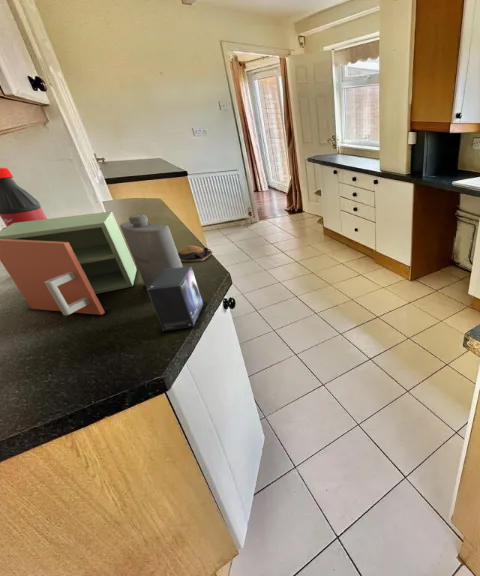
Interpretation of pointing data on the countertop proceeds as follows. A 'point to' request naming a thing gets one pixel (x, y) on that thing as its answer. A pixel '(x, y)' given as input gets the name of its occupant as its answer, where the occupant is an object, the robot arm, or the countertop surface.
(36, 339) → the countertop surface
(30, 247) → the door
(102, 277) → the cupboard
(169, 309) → the small box
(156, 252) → the flask
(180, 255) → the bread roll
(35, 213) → the cola bottle
